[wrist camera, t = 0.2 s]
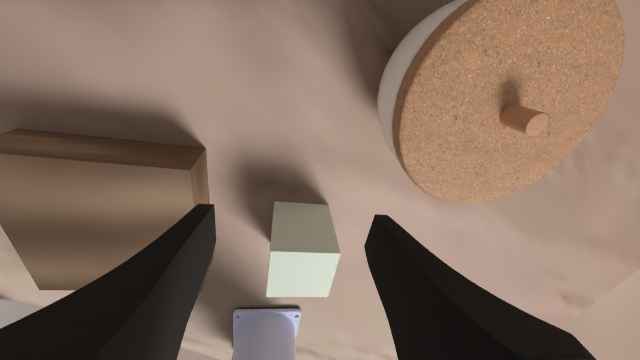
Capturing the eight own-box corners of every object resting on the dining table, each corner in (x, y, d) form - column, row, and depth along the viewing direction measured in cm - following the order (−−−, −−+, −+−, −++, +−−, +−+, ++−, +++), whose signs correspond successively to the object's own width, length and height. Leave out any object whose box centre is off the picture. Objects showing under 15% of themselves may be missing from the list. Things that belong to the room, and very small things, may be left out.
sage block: (319, 243, 25) (327, 296, 20) (270, 241, 25) (266, 296, 19) (328, 204, 23) (340, 253, 18) (274, 200, 22) (270, 251, 17)
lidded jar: (381, -21, 15) (493, -86, 7) (528, 15, 17) (749, -3, 9) (344, 144, 20) (383, 217, 12) (459, 157, 22) (559, 227, 14)
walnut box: (213, 255, 25) (202, 290, 22) (76, 251, 23) (39, 290, 19) (207, 146, 19) (190, 170, 16) (22, 126, 17) (-44, 149, 14)
